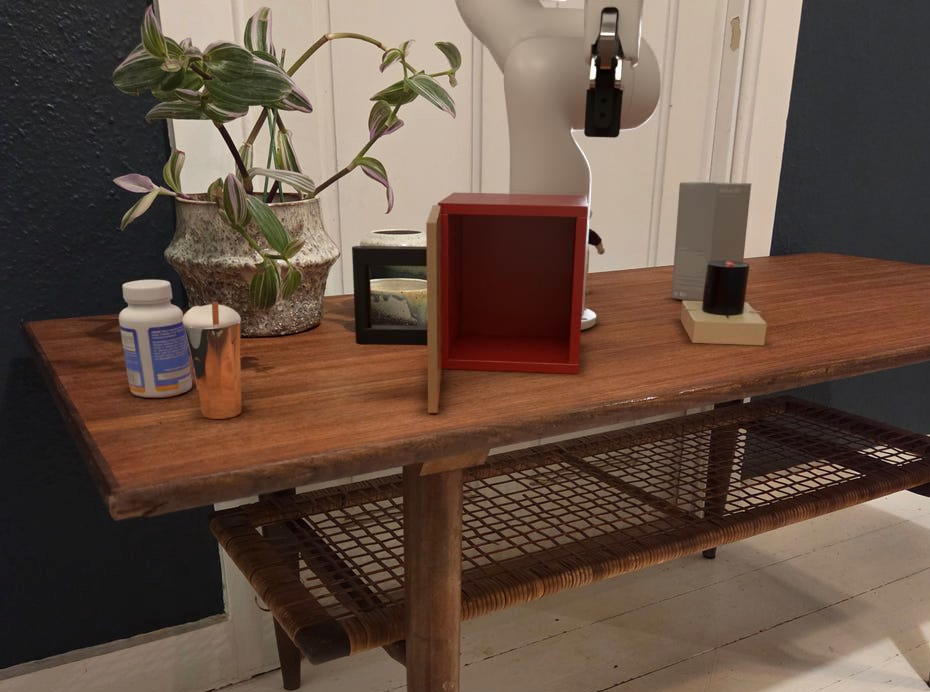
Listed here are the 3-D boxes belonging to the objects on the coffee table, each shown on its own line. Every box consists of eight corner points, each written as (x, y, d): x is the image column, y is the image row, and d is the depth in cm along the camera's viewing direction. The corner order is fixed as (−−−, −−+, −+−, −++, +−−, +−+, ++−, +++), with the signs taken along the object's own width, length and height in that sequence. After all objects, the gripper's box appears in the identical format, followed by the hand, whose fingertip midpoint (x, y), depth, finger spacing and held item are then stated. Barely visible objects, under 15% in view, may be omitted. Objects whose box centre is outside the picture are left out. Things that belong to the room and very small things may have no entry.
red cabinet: (578, 374, 87) (588, 206, 81) (438, 368, 89) (437, 202, 82) (577, 345, 98) (586, 195, 92) (453, 340, 100) (453, 192, 93)
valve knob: (699, 306, 107) (704, 257, 104) (739, 307, 106) (745, 258, 104) (704, 314, 102) (710, 263, 100) (746, 315, 102) (753, 264, 100)
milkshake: (198, 427, 71) (184, 304, 67) (190, 408, 76) (176, 291, 72) (255, 421, 73) (244, 300, 69) (244, 403, 77) (233, 288, 74)
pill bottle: (199, 382, 83) (187, 278, 79) (183, 399, 78) (169, 289, 74) (140, 382, 83) (126, 277, 79) (121, 399, 78) (104, 288, 74)
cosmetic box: (707, 306, 119) (721, 183, 113) (665, 298, 124) (676, 180, 118) (742, 299, 125) (757, 181, 119) (700, 291, 130) (713, 178, 123)
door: (355, 412, 75) (346, 221, 69) (371, 368, 88) (365, 204, 82) (437, 413, 75) (436, 222, 69) (441, 369, 88) (440, 205, 82)
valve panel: (676, 320, 111) (678, 299, 110) (748, 322, 110) (751, 301, 109) (687, 342, 100) (690, 319, 99) (768, 345, 99) (771, 322, 98)
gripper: (663, -91, 70) (643, 140, 77) (656, -57, 86) (640, 132, 93) (569, -90, 71) (557, 138, 78) (579, -57, 87) (569, 130, 94)
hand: (602, 134), depth 85 cm, fingers open, 9 cm apart
